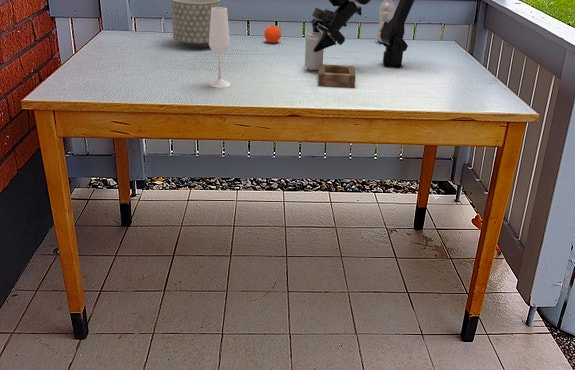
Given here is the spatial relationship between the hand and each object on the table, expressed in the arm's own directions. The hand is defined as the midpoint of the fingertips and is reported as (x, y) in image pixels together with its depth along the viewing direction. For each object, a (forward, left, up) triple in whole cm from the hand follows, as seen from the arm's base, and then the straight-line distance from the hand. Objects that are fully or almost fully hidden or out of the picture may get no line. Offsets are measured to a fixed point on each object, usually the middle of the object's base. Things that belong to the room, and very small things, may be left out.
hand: (310, 49), depth 201 cm
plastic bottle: (-31, -49, -8) cm, 59 cm away
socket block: (-9, +12, -8) cm, 17 cm away
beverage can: (-1, 0, -7) cm, 7 cm away
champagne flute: (+29, +22, -8) cm, 37 cm away
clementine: (+16, -39, -8) cm, 43 cm away
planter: (+46, -28, -8) cm, 55 cm away
